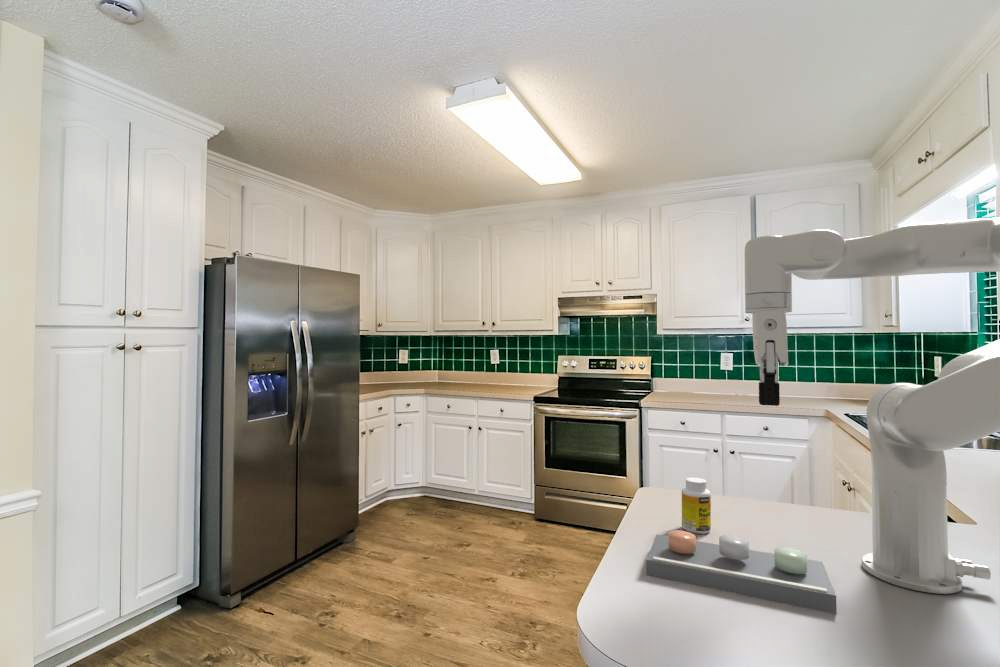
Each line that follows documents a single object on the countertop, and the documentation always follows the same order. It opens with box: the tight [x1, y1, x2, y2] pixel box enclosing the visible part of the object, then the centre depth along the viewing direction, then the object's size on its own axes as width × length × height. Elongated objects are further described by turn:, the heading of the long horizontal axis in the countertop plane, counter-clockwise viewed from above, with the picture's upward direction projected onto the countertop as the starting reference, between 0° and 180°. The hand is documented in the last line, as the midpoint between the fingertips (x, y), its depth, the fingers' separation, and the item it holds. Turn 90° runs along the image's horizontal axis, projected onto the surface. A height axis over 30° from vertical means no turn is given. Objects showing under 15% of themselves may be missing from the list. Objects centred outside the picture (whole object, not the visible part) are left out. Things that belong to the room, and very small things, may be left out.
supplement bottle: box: [681, 477, 712, 535], centre depth 99 cm, size 6×6×10 cm
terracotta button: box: [667, 530, 697, 554], centre depth 83 cm, size 4×4×2 cm
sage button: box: [773, 546, 808, 574], centre depth 76 cm, size 4×4×2 cm
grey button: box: [718, 534, 750, 560], centre depth 79 cm, size 4×4×2 cm
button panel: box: [645, 534, 837, 614], centre depth 79 cm, size 26×12×3 cm, turn 64°
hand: (769, 404), depth 88 cm, fingers closed
